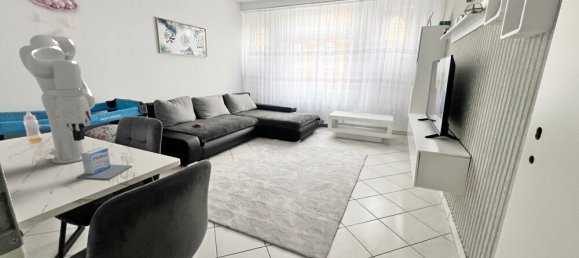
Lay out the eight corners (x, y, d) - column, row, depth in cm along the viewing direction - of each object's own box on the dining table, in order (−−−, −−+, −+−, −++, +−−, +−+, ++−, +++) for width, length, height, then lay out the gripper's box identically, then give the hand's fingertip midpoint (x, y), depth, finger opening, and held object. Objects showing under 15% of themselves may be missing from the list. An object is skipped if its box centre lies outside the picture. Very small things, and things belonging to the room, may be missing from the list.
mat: (76, 178, 94) (76, 176, 94) (103, 165, 107) (102, 164, 107) (109, 179, 94) (109, 178, 94) (132, 166, 107) (131, 165, 106)
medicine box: (94, 174, 96) (90, 154, 94) (84, 173, 97) (80, 153, 95) (111, 167, 104) (108, 147, 102) (102, 166, 105) (98, 147, 102)
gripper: (42, 94, 90) (52, 142, 94) (81, 94, 89) (89, 143, 93) (61, 92, 97) (70, 137, 101) (97, 93, 97) (105, 138, 101)
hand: (79, 139), depth 97 cm, fingers closed
